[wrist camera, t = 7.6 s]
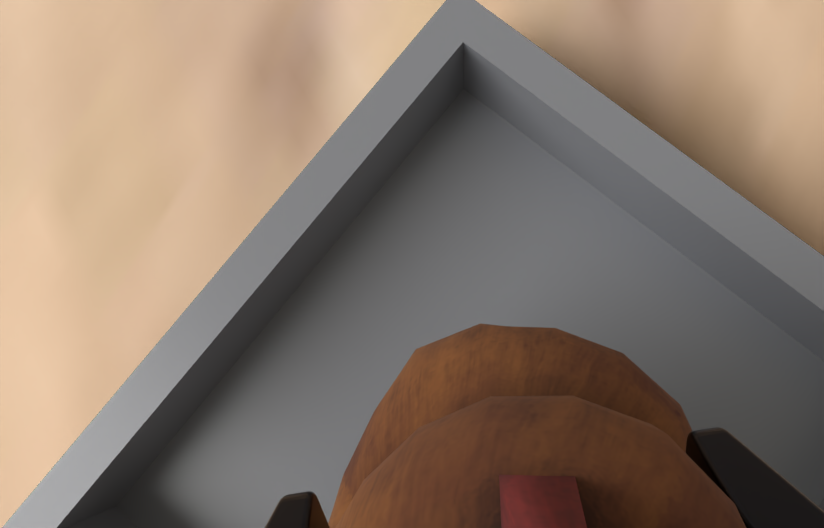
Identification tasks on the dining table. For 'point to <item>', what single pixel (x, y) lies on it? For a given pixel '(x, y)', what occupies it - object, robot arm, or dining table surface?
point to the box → (455, 290)
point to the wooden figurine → (526, 442)
